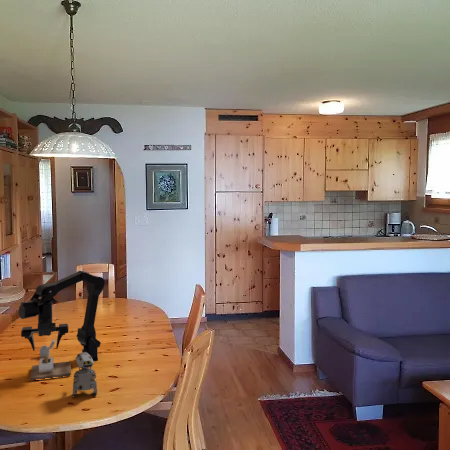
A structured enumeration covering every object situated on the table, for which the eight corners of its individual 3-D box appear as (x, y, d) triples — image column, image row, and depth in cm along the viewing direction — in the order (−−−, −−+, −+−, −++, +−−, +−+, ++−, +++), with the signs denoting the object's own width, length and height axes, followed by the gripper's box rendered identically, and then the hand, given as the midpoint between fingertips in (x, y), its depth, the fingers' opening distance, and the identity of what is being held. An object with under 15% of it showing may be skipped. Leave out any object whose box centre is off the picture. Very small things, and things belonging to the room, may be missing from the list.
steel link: (53, 366, 193) (53, 357, 193) (53, 372, 187) (52, 363, 186) (40, 367, 191) (39, 358, 191) (38, 373, 185) (38, 364, 184)
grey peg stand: (70, 364, 199) (70, 347, 199) (70, 376, 186) (70, 358, 185) (32, 368, 193) (32, 351, 193) (30, 381, 180) (29, 363, 180)
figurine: (98, 385, 177) (97, 349, 176) (96, 398, 166) (95, 360, 165) (74, 387, 175) (74, 351, 174) (71, 400, 164) (70, 362, 163)
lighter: (39, 357, 207) (39, 341, 207) (40, 356, 209) (40, 339, 208) (55, 356, 208) (55, 340, 208) (56, 355, 210) (55, 339, 210)
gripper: (19, 321, 176) (20, 358, 177) (68, 317, 183) (68, 353, 184) (22, 314, 187) (22, 349, 188) (68, 310, 193) (68, 345, 194)
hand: (45, 349), depth 188 cm, fingers open, 9 cm apart
